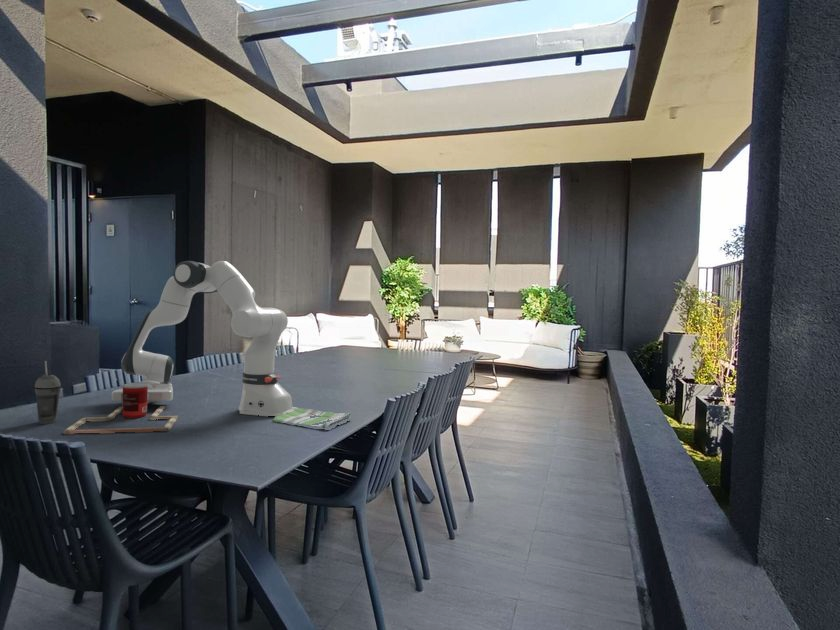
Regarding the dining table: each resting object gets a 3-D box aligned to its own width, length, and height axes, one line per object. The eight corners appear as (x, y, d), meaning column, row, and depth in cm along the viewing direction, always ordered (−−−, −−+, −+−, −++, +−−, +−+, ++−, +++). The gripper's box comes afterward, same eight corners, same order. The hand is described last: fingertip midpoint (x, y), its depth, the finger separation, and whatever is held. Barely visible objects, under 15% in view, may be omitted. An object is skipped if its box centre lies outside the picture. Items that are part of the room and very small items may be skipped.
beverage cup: (43, 425, 167) (44, 363, 166) (28, 423, 170) (28, 361, 169) (66, 420, 174) (67, 360, 173) (50, 418, 176) (51, 358, 176)
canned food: (144, 412, 190) (145, 381, 189) (149, 416, 184) (149, 385, 183) (120, 414, 185) (120, 383, 185) (124, 419, 179) (125, 387, 178)
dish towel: (327, 433, 175) (327, 422, 175) (270, 423, 183) (270, 413, 183) (352, 421, 191) (353, 412, 191) (299, 413, 199) (299, 404, 199)
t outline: (97, 409, 190) (97, 407, 190) (184, 408, 198) (184, 405, 198) (63, 434, 159) (63, 431, 159) (168, 431, 167) (168, 428, 167)
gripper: (117, 383, 198) (105, 390, 185) (176, 383, 204) (169, 390, 191) (117, 400, 199) (105, 408, 185) (175, 399, 204) (168, 407, 191)
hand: (138, 399), depth 188 cm, fingers closed, pressing on canned food
